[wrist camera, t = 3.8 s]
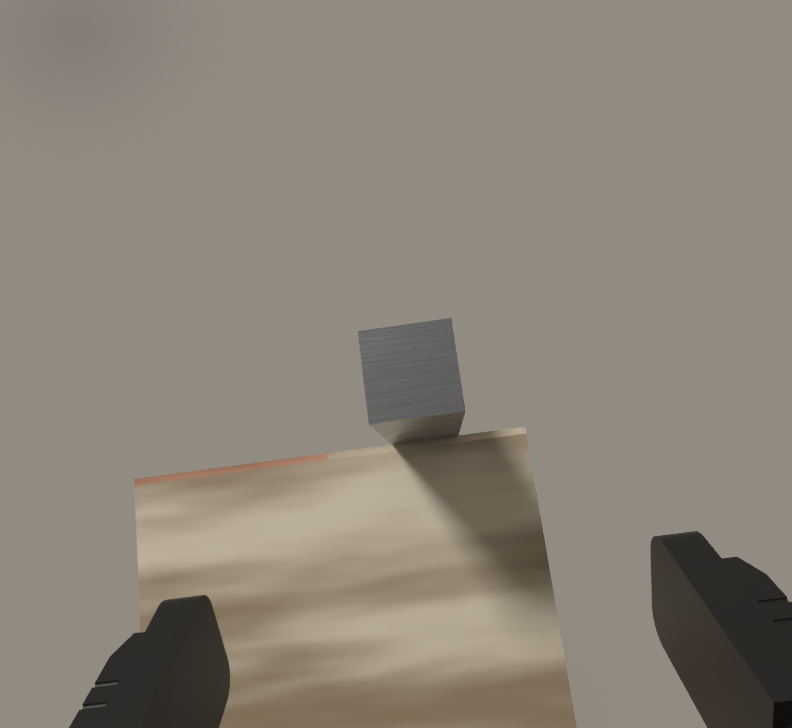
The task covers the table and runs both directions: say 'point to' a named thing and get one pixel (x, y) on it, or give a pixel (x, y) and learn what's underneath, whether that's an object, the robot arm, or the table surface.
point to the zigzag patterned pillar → (368, 584)
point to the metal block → (412, 381)
